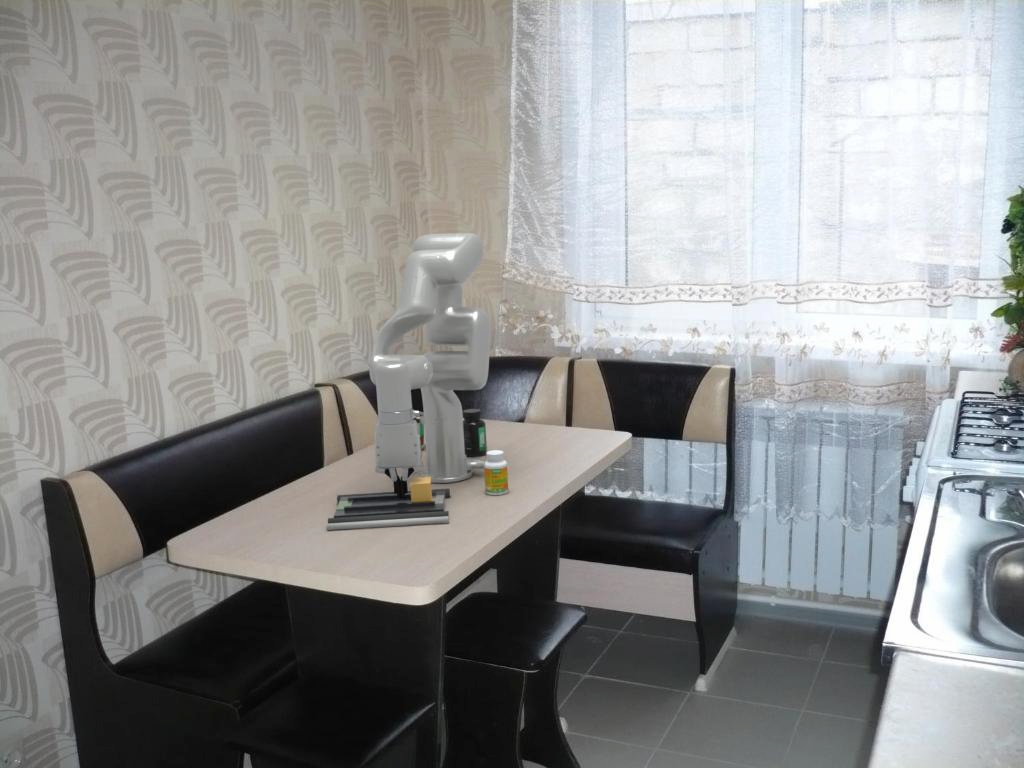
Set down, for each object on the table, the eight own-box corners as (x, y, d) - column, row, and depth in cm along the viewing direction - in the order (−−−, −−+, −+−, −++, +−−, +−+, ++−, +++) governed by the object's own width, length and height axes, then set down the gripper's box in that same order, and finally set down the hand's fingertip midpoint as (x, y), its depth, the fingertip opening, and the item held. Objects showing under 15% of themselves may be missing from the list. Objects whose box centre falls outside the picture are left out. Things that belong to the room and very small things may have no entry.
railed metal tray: (445, 499, 245) (444, 487, 244) (444, 518, 231) (443, 505, 231) (341, 505, 244) (340, 493, 244) (334, 524, 230) (333, 512, 230)
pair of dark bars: (450, 495, 247) (449, 487, 247) (448, 523, 227) (448, 514, 227) (338, 502, 247) (338, 494, 246) (327, 531, 227) (326, 522, 226)
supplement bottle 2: (491, 497, 245) (489, 456, 243) (481, 491, 249) (479, 451, 248) (512, 493, 247) (510, 452, 245) (502, 487, 252) (499, 448, 250)
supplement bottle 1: (489, 456, 281) (487, 412, 279) (464, 458, 279) (461, 414, 277) (484, 450, 288) (481, 406, 285) (459, 452, 286) (456, 409, 284)
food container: (437, 447, 293) (435, 412, 291) (424, 452, 288) (421, 416, 286) (402, 443, 300) (399, 408, 298) (388, 448, 294) (386, 413, 293)
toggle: (432, 496, 240) (430, 476, 239) (431, 502, 235) (430, 483, 234) (412, 497, 240) (411, 478, 239) (411, 503, 235) (410, 484, 234)
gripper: (430, 411, 238) (435, 490, 241) (363, 415, 237) (369, 493, 241) (428, 418, 230) (433, 499, 234) (359, 422, 230) (366, 503, 233)
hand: (401, 496), depth 237 cm, fingers closed
